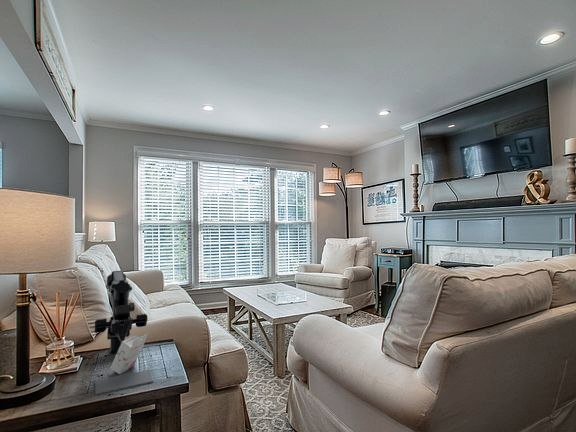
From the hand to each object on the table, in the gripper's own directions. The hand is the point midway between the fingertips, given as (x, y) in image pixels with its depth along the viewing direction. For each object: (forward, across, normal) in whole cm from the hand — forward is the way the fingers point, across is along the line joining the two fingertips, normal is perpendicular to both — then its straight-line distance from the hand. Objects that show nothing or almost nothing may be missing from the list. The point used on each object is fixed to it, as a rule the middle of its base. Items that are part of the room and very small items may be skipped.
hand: (122, 342), depth 128 cm
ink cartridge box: (+6, 0, +9) cm, 11 cm away
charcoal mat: (+15, 0, +1) cm, 15 cm away
